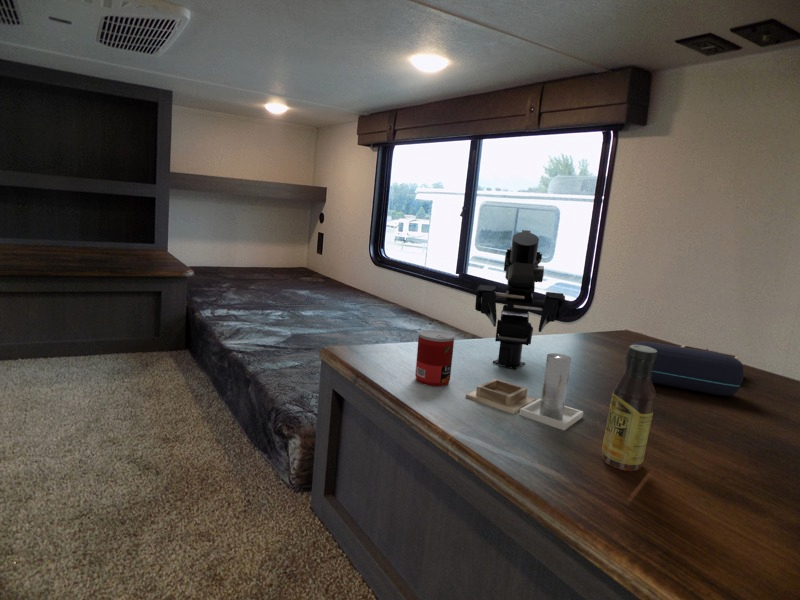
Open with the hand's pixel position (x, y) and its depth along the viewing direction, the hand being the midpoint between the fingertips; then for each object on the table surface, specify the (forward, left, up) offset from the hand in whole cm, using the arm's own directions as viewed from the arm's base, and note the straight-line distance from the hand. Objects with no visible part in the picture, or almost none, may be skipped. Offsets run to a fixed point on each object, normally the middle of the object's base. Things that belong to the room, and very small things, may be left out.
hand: (517, 327), depth 105 cm
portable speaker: (-43, +24, -16) cm, 51 cm away
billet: (+3, +11, -15) cm, 19 cm away
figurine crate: (-65, +26, -16) cm, 71 cm away
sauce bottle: (+12, +27, -16) cm, 33 cm away
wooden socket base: (+3, 0, -16) cm, 16 cm away
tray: (+3, +11, -16) cm, 19 cm away
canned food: (+4, -17, -16) cm, 24 cm away
